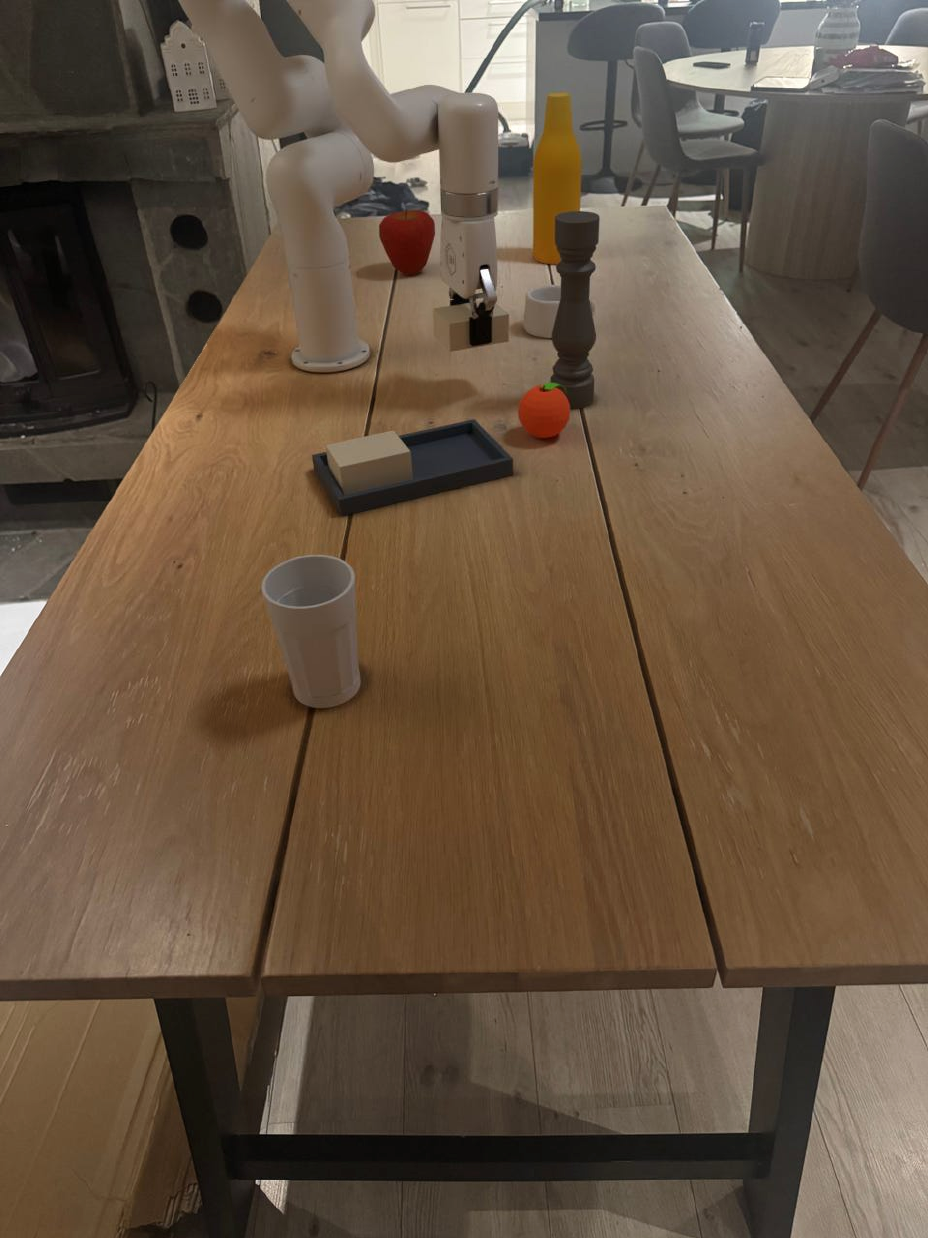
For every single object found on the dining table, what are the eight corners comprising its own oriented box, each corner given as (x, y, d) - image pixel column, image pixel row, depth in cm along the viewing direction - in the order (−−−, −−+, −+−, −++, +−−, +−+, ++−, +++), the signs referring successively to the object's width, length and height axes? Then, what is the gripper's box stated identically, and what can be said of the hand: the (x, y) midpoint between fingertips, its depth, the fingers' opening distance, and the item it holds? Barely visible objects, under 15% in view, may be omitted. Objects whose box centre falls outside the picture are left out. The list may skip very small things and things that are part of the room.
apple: (406, 261, 189) (401, 198, 182) (448, 268, 184) (445, 204, 176) (371, 276, 182) (364, 211, 175) (414, 285, 177) (409, 218, 170)
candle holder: (591, 410, 130) (599, 223, 115) (547, 408, 132) (549, 223, 116) (595, 391, 135) (603, 210, 120) (553, 389, 136) (556, 210, 121)
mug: (526, 341, 152) (526, 304, 148) (520, 320, 160) (520, 285, 156) (598, 336, 152) (600, 300, 148) (589, 316, 160) (591, 280, 156)
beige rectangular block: (433, 335, 134) (432, 308, 131) (490, 326, 136) (490, 298, 134) (449, 351, 129) (449, 323, 127) (508, 341, 132) (509, 313, 129)
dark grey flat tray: (314, 470, 120) (311, 454, 119) (474, 434, 126) (474, 418, 125) (341, 516, 111) (338, 499, 109) (513, 474, 117) (513, 458, 115)
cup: (287, 661, 90) (265, 558, 82) (369, 654, 90) (355, 550, 83) (281, 718, 83) (257, 612, 76) (369, 710, 84) (354, 604, 76)
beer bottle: (580, 264, 183) (586, 97, 165) (533, 265, 183) (534, 99, 165) (576, 250, 190) (581, 88, 172) (531, 251, 190) (532, 91, 172)
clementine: (546, 416, 130) (547, 367, 125) (585, 431, 125) (587, 381, 121) (507, 436, 125) (506, 386, 121) (546, 452, 121) (546, 401, 117)
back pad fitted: (329, 473, 118) (325, 444, 115) (396, 458, 120) (393, 429, 118) (343, 496, 113) (339, 467, 110) (413, 479, 115) (410, 451, 113)
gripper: (419, 189, 126) (425, 318, 138) (467, 222, 114) (469, 362, 125) (470, 183, 128) (471, 310, 140) (523, 215, 116) (520, 352, 127)
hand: (470, 333), depth 132 cm, fingers closed on beige rectangular block, 6 cm apart
